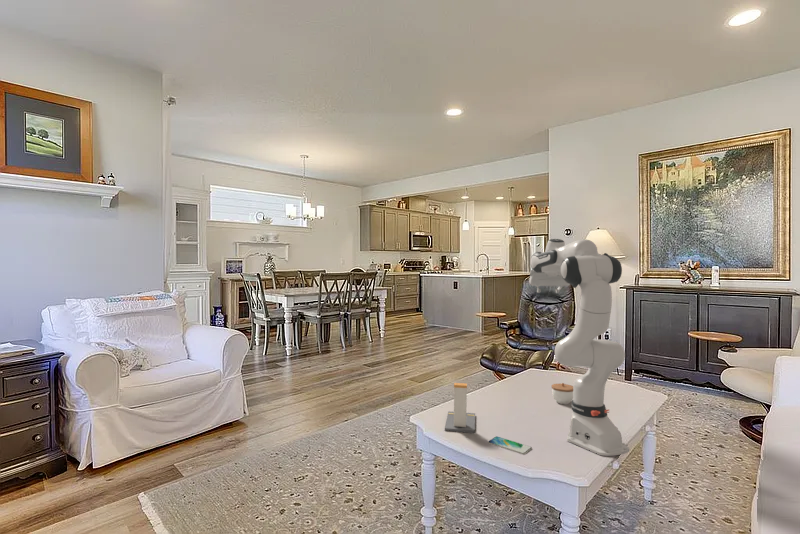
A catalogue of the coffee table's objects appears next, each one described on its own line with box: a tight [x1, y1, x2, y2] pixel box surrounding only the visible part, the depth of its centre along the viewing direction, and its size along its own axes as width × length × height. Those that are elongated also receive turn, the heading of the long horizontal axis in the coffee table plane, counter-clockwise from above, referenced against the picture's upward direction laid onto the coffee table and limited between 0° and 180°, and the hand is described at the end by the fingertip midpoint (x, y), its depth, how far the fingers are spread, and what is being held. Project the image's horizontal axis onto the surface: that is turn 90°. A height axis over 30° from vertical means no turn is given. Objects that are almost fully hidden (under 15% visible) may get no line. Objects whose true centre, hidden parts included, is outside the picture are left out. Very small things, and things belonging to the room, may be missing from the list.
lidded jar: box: [551, 382, 573, 405], centre depth 213 cm, size 11×11×9 cm
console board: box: [444, 410, 476, 434], centre depth 184 cm, size 20×12×1 cm, turn 169°
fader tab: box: [453, 382, 468, 427], centre depth 178 cm, size 3×5×17 cm, turn 80°
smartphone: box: [487, 435, 533, 455], centre depth 162 cm, size 7×1×15 cm
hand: (547, 292), depth 224 cm, fingers open, 8 cm apart
